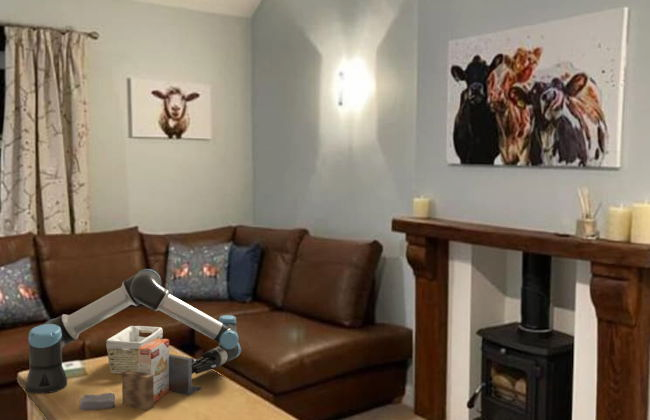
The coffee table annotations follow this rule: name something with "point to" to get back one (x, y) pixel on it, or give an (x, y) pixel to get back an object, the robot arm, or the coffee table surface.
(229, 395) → the coffee table surface
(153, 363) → the cracker box
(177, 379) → the bookend
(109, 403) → the stone block
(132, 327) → the storage basket
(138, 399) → the end block
